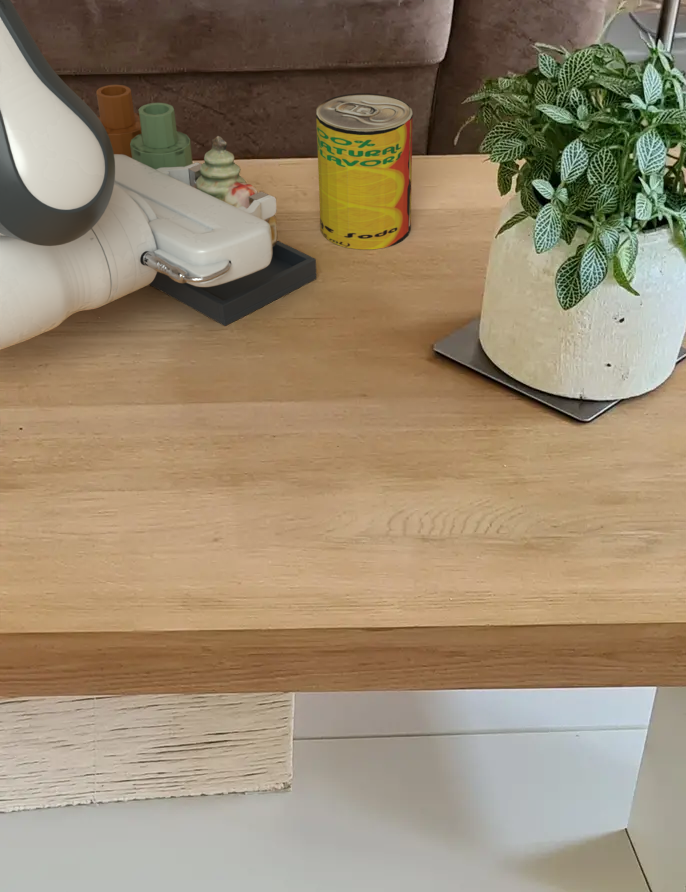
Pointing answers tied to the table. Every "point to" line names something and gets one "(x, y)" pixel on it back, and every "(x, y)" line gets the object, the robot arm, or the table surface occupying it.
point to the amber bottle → (118, 117)
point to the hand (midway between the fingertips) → (237, 186)
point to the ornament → (227, 180)
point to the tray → (245, 286)
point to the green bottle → (160, 139)
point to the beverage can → (364, 170)
